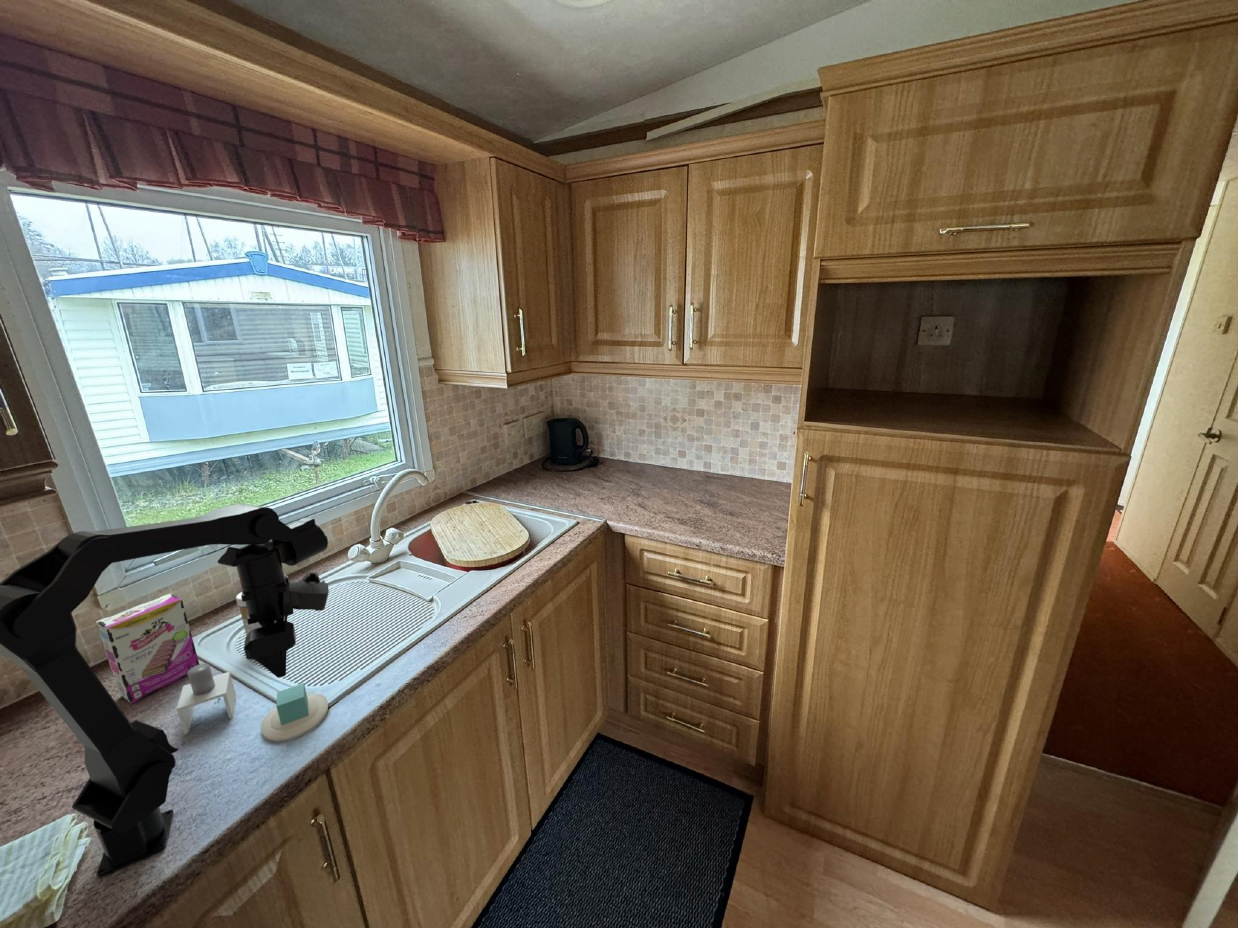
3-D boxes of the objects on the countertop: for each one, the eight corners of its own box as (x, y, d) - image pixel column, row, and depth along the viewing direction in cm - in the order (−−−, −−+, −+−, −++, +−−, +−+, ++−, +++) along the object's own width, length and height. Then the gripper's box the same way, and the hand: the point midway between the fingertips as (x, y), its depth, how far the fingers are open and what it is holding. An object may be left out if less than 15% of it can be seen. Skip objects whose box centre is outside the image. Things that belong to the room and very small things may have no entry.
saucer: (330, 724, 84) (329, 718, 84) (260, 751, 79) (258, 745, 79) (327, 690, 92) (325, 685, 92) (263, 712, 87) (261, 707, 87)
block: (308, 715, 85) (304, 696, 84) (281, 725, 83) (276, 706, 82) (308, 701, 88) (303, 683, 87) (281, 710, 86) (277, 691, 85)
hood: (232, 717, 86) (220, 672, 84) (184, 734, 83) (169, 687, 80) (236, 695, 92) (224, 652, 89) (190, 709, 88) (177, 665, 86)
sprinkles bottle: (272, 638, 108) (259, 584, 105) (277, 647, 105) (264, 592, 102) (247, 648, 105) (233, 593, 102) (252, 657, 102) (237, 601, 99)
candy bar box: (131, 705, 89) (105, 628, 85) (119, 697, 92) (92, 621, 87) (203, 668, 99) (182, 597, 95) (190, 661, 101) (169, 591, 97)
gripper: (323, 588, 75) (340, 673, 79) (318, 545, 90) (332, 619, 94) (233, 611, 69) (257, 702, 73) (244, 561, 84) (263, 639, 88)
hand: (282, 660), depth 83 cm, fingers open, 9 cm apart
